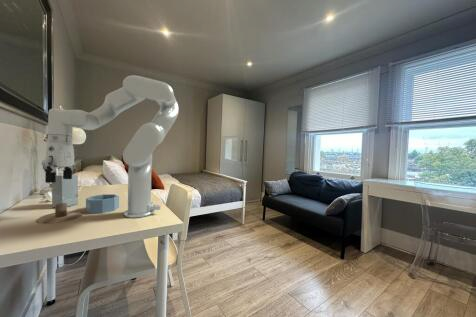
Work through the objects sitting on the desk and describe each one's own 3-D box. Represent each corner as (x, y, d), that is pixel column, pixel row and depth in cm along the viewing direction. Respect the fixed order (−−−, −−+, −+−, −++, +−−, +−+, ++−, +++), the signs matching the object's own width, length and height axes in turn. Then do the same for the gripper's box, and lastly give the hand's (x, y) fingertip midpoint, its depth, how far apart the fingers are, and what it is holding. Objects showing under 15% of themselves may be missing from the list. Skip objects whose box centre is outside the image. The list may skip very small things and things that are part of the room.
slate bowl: (121, 205, 103) (121, 194, 103) (110, 212, 91) (110, 199, 91) (95, 206, 101) (95, 194, 101) (81, 213, 89) (81, 200, 89)
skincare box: (62, 208, 96) (62, 175, 95) (50, 207, 97) (50, 175, 96) (79, 204, 104) (79, 173, 103) (68, 202, 105) (68, 173, 105)
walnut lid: (88, 213, 91) (88, 200, 91) (67, 223, 78) (68, 208, 78) (54, 213, 89) (55, 200, 89) (27, 224, 76) (28, 208, 75)
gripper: (55, 138, 74) (54, 184, 75) (83, 141, 91) (82, 178, 92) (32, 137, 73) (31, 183, 74) (64, 140, 90) (63, 177, 91)
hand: (59, 180), depth 83 cm, fingers open, 9 cm apart
